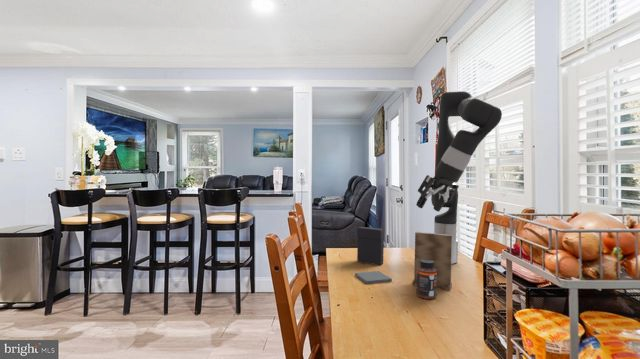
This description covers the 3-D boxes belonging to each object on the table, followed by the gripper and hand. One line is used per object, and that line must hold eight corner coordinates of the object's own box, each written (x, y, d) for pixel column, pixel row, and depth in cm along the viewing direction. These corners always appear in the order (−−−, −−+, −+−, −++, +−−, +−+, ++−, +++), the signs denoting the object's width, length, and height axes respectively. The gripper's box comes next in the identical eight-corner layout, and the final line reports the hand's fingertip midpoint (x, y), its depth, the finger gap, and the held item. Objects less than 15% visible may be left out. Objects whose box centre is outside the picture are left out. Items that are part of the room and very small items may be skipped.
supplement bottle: (437, 300, 104) (438, 264, 104) (417, 299, 105) (418, 262, 105) (434, 294, 110) (435, 259, 109) (415, 292, 111) (416, 258, 111)
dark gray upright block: (384, 263, 145) (384, 228, 145) (380, 265, 142) (380, 230, 141) (360, 259, 151) (361, 226, 151) (356, 261, 148) (357, 227, 147)
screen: (412, 284, 119) (413, 233, 118) (415, 280, 123) (416, 231, 123) (450, 290, 113) (451, 236, 113) (451, 286, 118) (453, 234, 117)
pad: (378, 273, 131) (378, 270, 131) (391, 281, 122) (391, 278, 122) (354, 275, 128) (354, 273, 128) (366, 284, 118) (366, 281, 118)
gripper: (457, 163, 111) (433, 205, 116) (430, 154, 103) (405, 199, 108) (475, 173, 105) (449, 217, 110) (447, 164, 97) (420, 212, 102)
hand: (427, 208), depth 109 cm, fingers open, 8 cm apart
